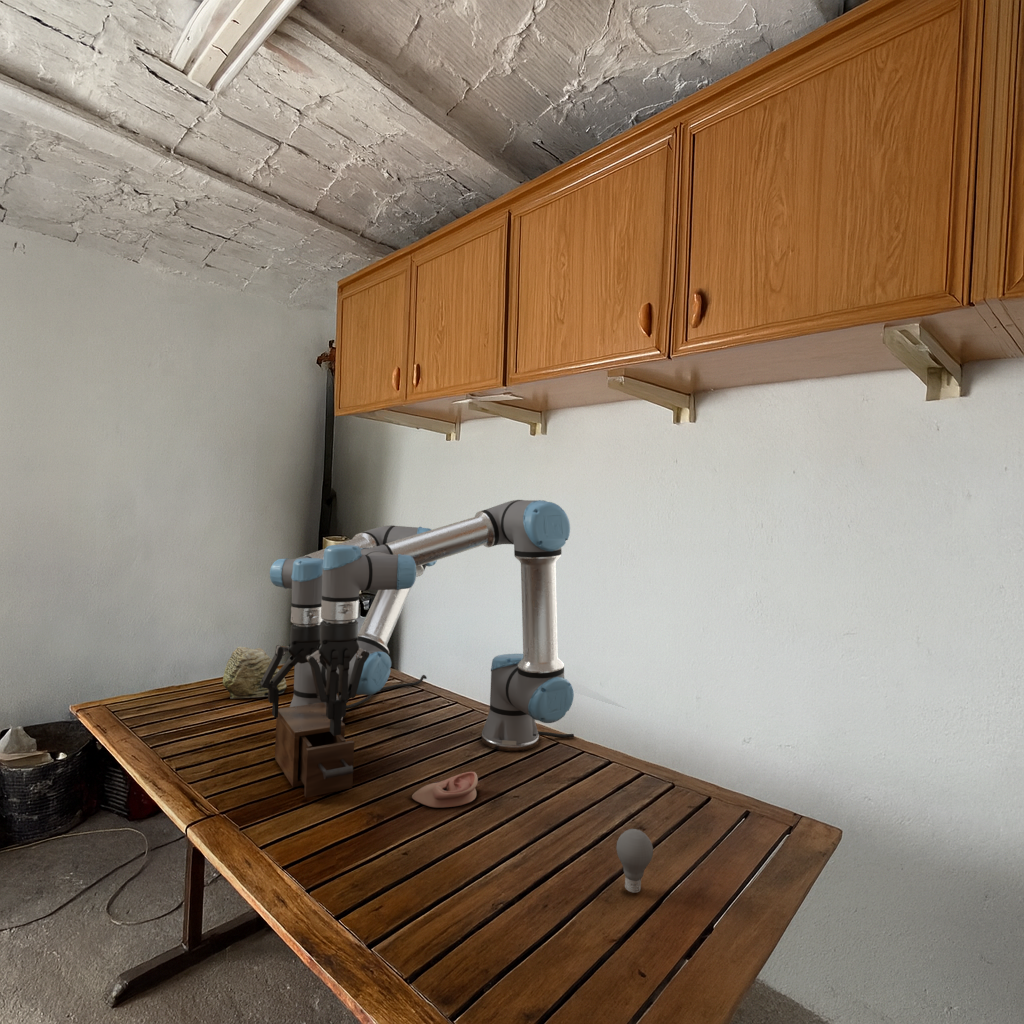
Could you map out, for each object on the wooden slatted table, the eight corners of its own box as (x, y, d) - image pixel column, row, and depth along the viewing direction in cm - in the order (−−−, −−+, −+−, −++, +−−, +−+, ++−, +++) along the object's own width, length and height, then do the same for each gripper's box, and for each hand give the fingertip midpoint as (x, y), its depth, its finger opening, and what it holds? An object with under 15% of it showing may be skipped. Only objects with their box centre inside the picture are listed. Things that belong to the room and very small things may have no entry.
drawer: (362, 799, 131) (363, 752, 131) (313, 810, 126) (315, 761, 126) (330, 760, 149) (332, 718, 149) (287, 768, 144) (288, 725, 144)
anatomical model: (407, 784, 132) (425, 763, 143) (406, 803, 132) (424, 780, 143) (468, 793, 129) (482, 770, 140) (467, 812, 129) (481, 788, 141)
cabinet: (343, 777, 143) (345, 724, 143) (292, 787, 137) (294, 732, 137) (321, 750, 158) (323, 702, 158) (274, 758, 152) (276, 708, 152)
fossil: (218, 695, 195) (220, 647, 195) (278, 685, 208) (279, 640, 207) (228, 703, 189) (230, 653, 188) (289, 692, 201) (290, 645, 201)
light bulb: (610, 879, 108) (613, 822, 108) (644, 879, 109) (647, 822, 109) (619, 902, 102) (622, 840, 102) (655, 901, 103) (658, 840, 103)
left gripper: (255, 631, 141) (252, 725, 142) (363, 622, 155) (360, 708, 156) (248, 624, 148) (246, 714, 148) (353, 616, 161) (350, 699, 162)
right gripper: (312, 625, 124) (308, 744, 125) (376, 621, 131) (371, 733, 132) (302, 618, 131) (298, 732, 131) (363, 614, 138) (359, 722, 138)
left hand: (304, 711), depth 152 cm, fingers open, 13 cm apart
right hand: (335, 732), depth 131 cm, fingers closed
